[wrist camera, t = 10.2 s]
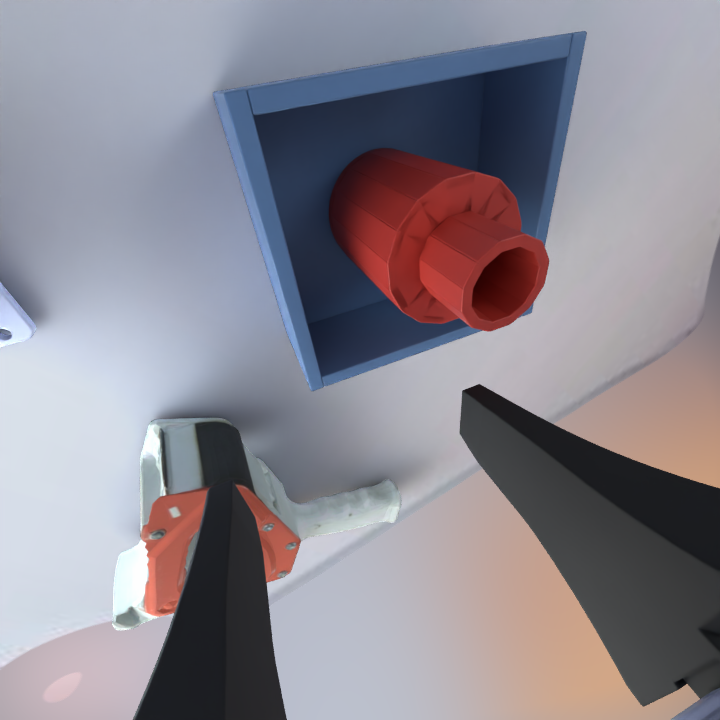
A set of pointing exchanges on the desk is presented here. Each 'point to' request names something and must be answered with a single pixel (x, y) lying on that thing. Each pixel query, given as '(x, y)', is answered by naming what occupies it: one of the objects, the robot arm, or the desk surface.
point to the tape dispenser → (186, 503)
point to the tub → (401, 132)
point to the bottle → (437, 239)
